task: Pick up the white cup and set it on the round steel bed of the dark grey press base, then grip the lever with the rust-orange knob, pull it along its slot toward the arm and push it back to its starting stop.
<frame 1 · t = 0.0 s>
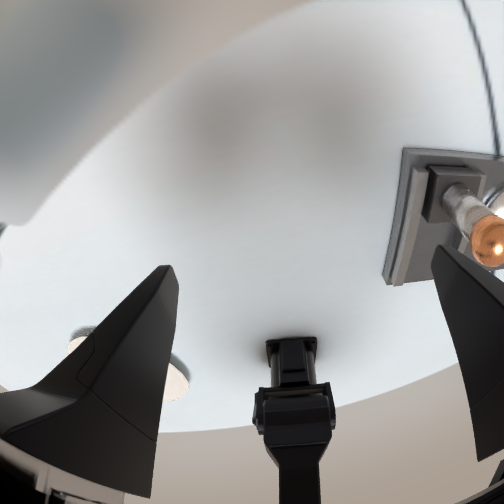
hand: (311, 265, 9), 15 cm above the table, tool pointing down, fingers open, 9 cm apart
press base: (473, 216, 24), on the table
press lever: (473, 218, 17), point 6 cm above the table, slide at 0.0 cm
plate: (129, 362, 43), on the table
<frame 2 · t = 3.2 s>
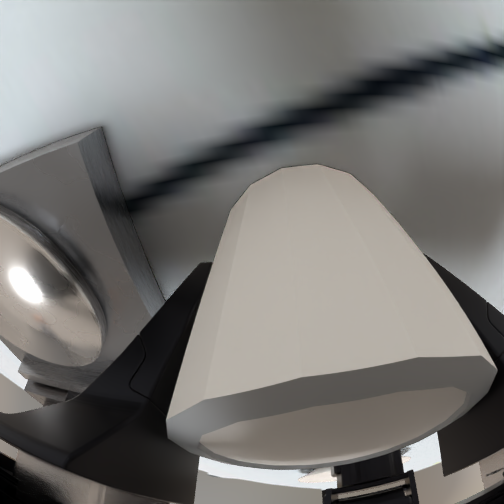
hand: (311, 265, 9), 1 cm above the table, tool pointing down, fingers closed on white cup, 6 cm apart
press base: (71, 328, 14), on the table
white cup: (305, 236, 10), on the table, touching gripper
press lever: (52, 442, 14), point 6 cm above the table, slide at 0.0 cm
plate: (353, 461, 41), on the table
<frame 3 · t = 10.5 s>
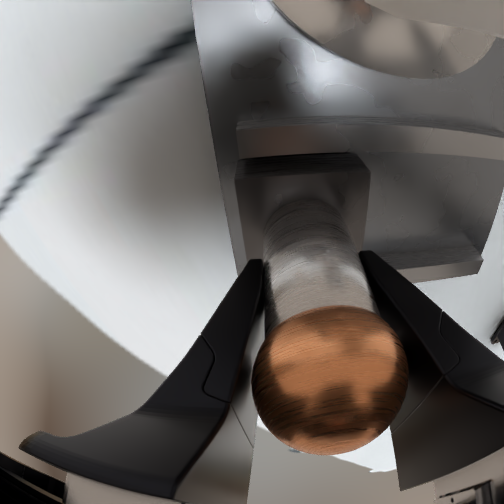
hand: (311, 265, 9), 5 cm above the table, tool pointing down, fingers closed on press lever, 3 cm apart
press base: (383, 60, 9), on the table
press lever: (317, 294, 8), point 6 cm above the table, slide at 0.0 cm, touching gripper
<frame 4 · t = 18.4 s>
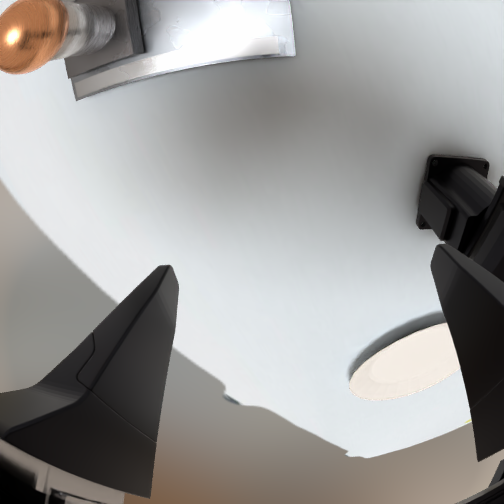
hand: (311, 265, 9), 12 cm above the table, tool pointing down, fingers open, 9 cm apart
press lever: (63, 30, 8), point 6 cm above the table, slide at 0.4 cm
plate: (414, 354, 36), on the table
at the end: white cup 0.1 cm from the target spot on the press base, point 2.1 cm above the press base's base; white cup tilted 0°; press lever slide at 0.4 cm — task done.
